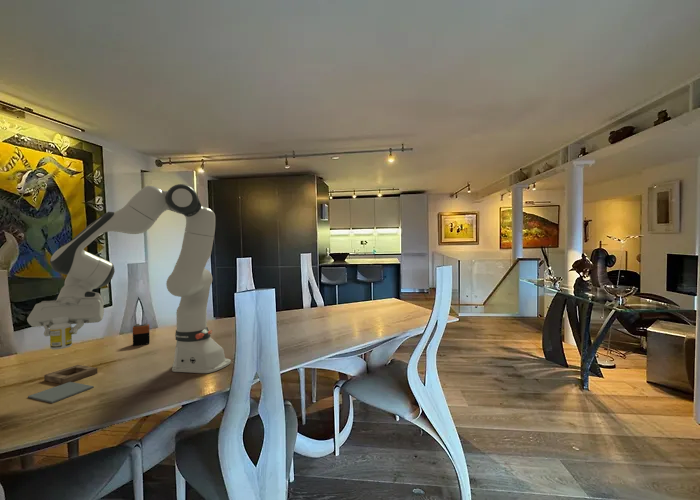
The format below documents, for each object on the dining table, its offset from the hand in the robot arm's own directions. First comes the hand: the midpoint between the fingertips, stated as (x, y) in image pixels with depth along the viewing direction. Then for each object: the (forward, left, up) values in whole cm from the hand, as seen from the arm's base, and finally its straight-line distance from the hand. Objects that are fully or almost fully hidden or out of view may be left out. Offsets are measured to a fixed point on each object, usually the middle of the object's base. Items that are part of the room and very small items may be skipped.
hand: (60, 334), depth 110 cm
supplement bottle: (0, -1, -5) cm, 5 cm away
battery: (+26, -49, -20) cm, 59 cm away
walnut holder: (+12, -10, -19) cm, 25 cm away
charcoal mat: (0, 0, -19) cm, 19 cm away
